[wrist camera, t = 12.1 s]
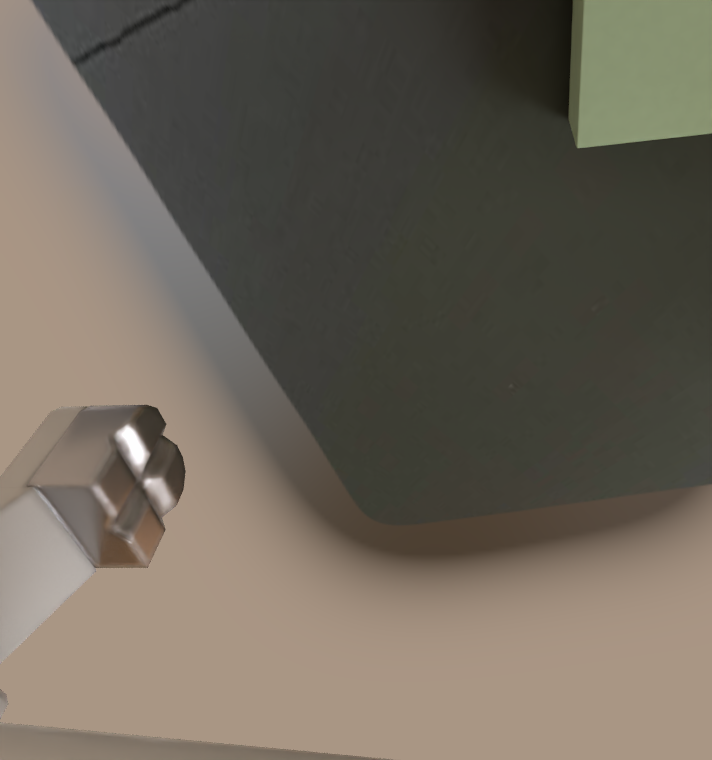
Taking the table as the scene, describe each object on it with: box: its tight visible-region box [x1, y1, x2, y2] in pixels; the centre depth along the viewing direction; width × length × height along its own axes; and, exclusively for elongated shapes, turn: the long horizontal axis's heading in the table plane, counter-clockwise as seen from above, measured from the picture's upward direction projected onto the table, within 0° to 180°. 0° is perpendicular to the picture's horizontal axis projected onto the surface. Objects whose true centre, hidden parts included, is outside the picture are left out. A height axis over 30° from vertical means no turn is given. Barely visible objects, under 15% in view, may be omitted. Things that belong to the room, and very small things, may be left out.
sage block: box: [569, 0, 712, 148], centre depth 22 cm, size 5×8×4 cm, turn 10°
